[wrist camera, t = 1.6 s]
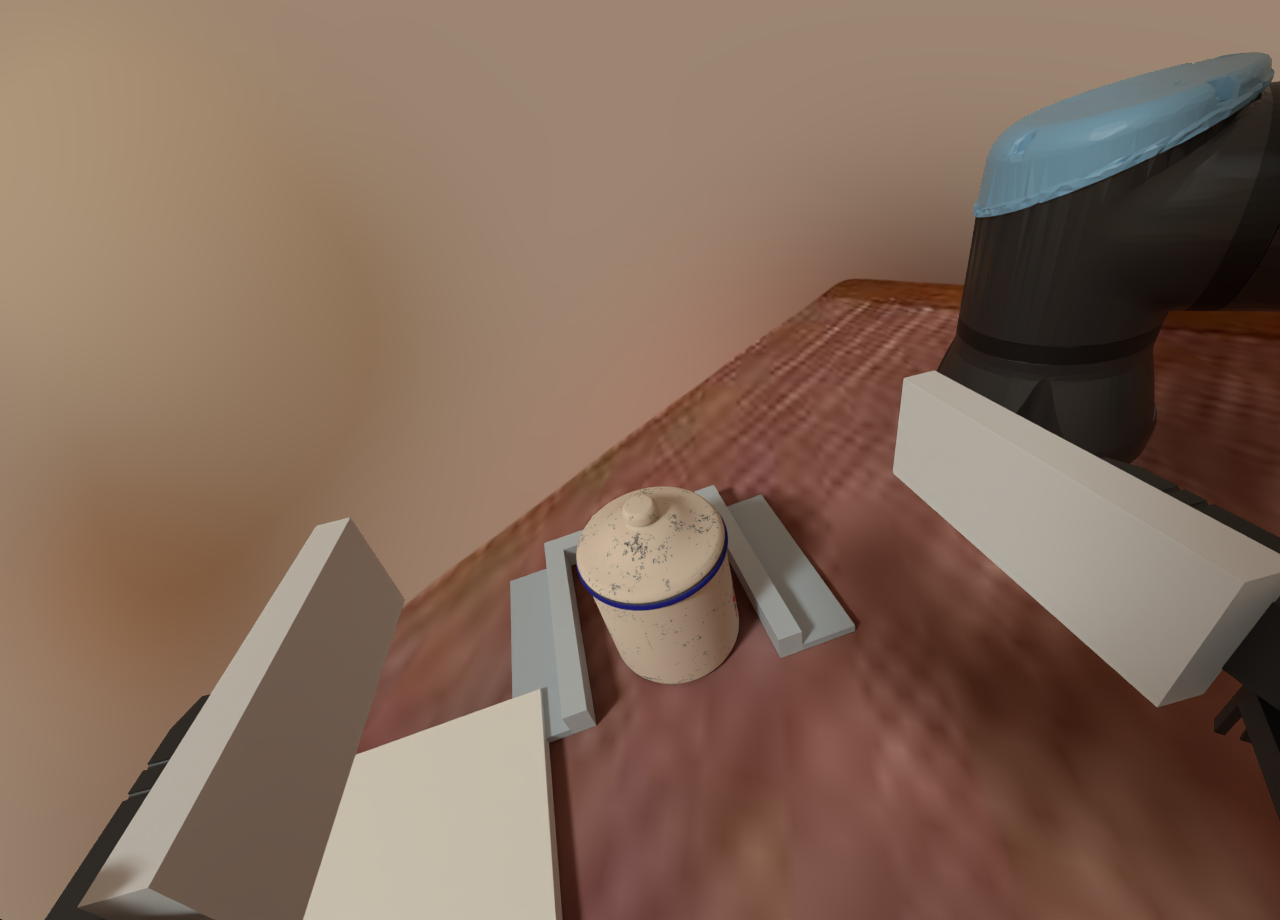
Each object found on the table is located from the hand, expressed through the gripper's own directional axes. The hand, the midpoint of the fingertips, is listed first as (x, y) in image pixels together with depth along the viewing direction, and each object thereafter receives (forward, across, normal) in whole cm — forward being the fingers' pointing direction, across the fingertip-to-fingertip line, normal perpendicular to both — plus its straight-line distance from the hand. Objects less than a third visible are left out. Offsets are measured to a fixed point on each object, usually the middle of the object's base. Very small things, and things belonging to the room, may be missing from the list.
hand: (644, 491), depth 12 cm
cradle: (+15, 0, -21) cm, 26 cm away
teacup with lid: (+14, 0, -21) cm, 25 cm away
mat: (+3, -15, -22) cm, 27 cm away
